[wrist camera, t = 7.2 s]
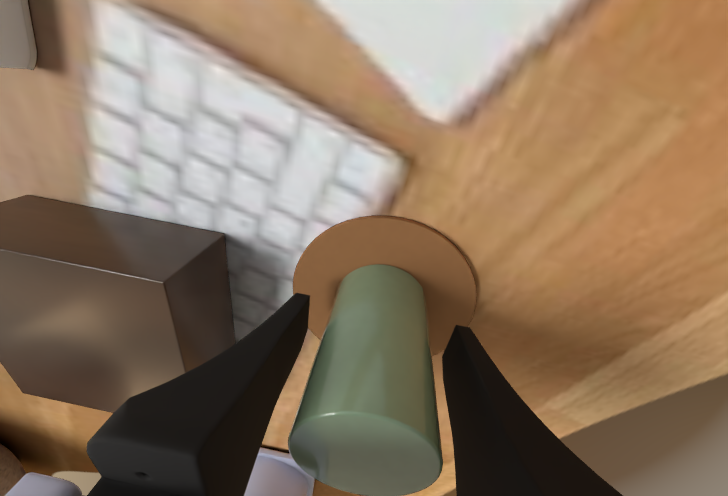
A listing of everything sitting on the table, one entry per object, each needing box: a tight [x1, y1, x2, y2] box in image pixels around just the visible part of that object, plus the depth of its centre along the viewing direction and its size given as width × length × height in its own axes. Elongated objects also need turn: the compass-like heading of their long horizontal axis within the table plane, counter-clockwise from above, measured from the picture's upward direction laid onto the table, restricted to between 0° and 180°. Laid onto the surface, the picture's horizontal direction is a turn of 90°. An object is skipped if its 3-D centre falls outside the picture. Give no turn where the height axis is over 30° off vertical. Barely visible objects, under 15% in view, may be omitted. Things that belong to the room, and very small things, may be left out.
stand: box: [0, 195, 235, 413], centre depth 15 cm, size 10×10×4 cm
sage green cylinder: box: [288, 264, 443, 496], centre depth 11 cm, size 4×4×7 cm
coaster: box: [293, 216, 476, 356], centre depth 14 cm, size 9×9×1 cm
